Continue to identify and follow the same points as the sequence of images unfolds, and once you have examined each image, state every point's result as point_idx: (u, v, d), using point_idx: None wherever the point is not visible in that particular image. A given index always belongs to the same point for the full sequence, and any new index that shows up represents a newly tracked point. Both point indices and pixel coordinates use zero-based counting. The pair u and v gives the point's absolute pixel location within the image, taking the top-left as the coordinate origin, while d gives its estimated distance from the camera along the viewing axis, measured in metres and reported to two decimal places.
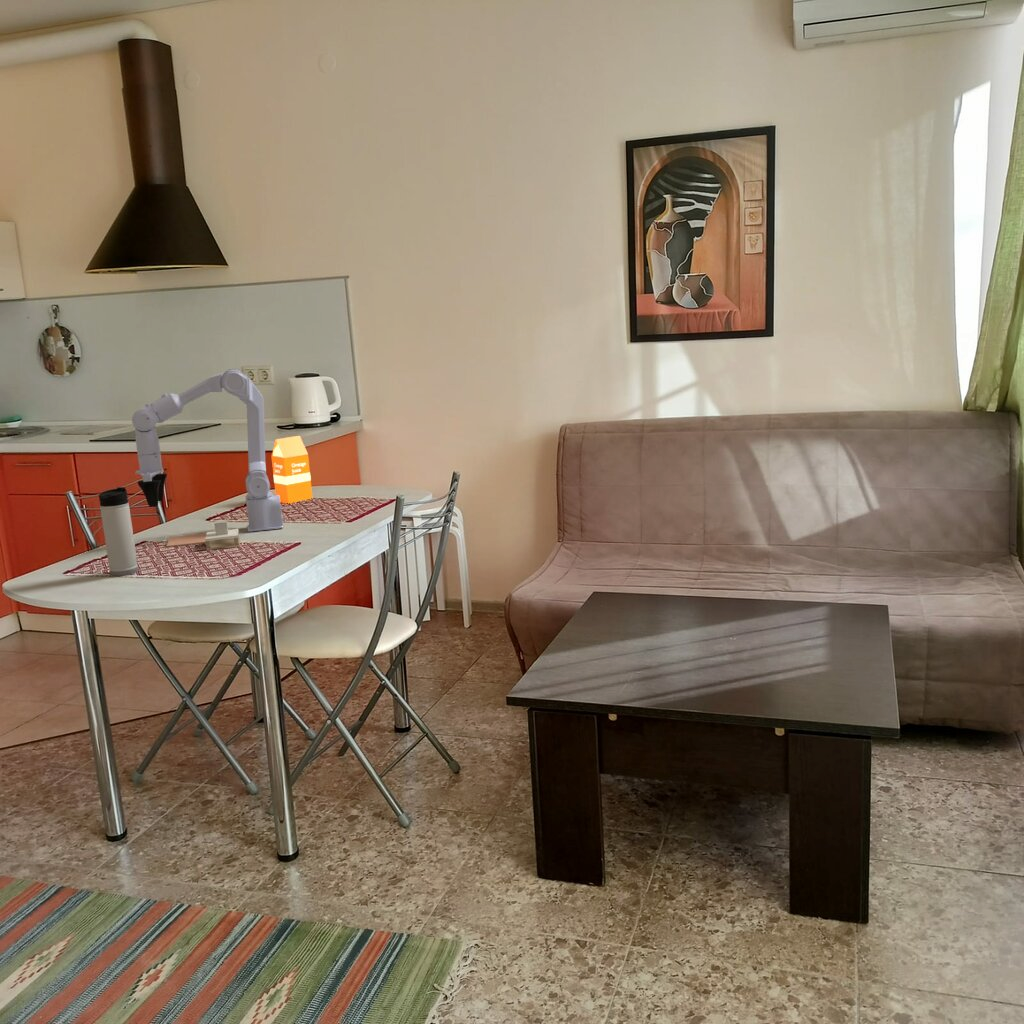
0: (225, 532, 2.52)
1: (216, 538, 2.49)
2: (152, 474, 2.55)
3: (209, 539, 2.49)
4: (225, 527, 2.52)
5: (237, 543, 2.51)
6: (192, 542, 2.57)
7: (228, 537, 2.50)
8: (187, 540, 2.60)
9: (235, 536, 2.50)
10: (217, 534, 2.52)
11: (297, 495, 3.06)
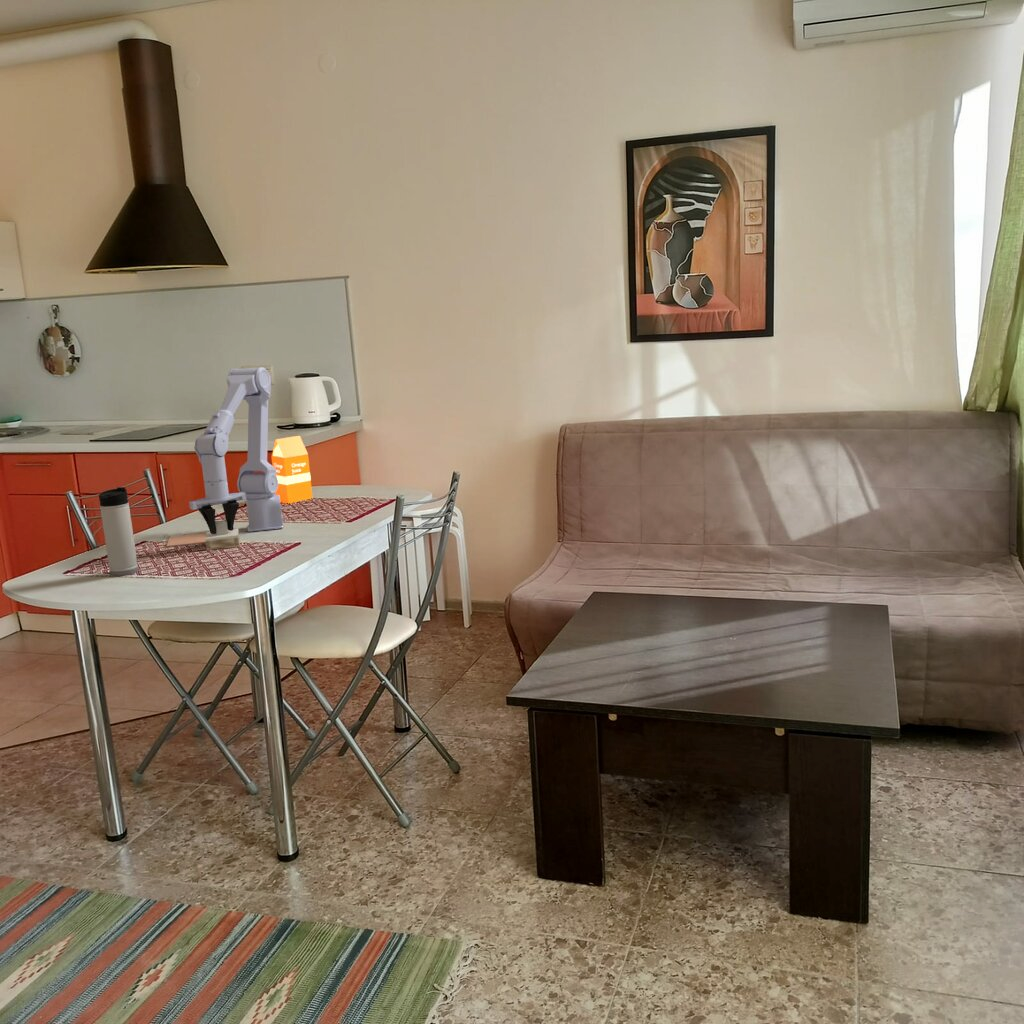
0: (225, 532, 2.52)
1: (216, 538, 2.49)
2: (199, 503, 2.47)
3: (209, 539, 2.49)
4: (225, 527, 2.52)
5: (237, 543, 2.51)
6: (192, 542, 2.57)
7: (228, 537, 2.50)
8: (187, 540, 2.60)
9: (235, 536, 2.50)
10: (217, 534, 2.52)
11: (297, 495, 3.06)
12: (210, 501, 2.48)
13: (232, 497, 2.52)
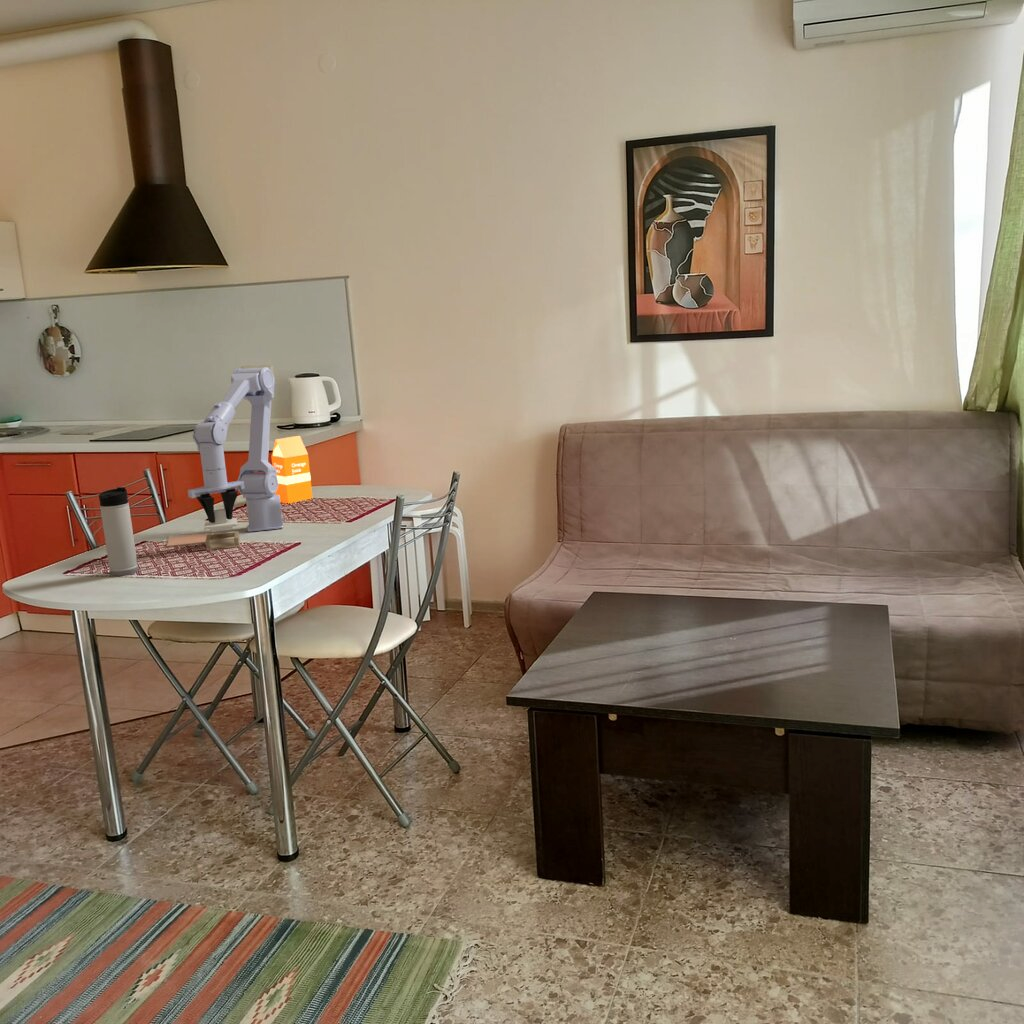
0: (224, 521, 2.51)
1: (215, 527, 2.49)
2: (197, 491, 2.46)
3: (208, 528, 2.48)
4: (224, 516, 2.51)
5: (237, 543, 2.51)
6: (192, 542, 2.57)
7: (227, 526, 2.49)
8: (187, 540, 2.60)
9: (234, 525, 2.50)
10: (216, 523, 2.51)
11: (297, 495, 3.06)
12: (209, 489, 2.47)
13: (231, 486, 2.51)
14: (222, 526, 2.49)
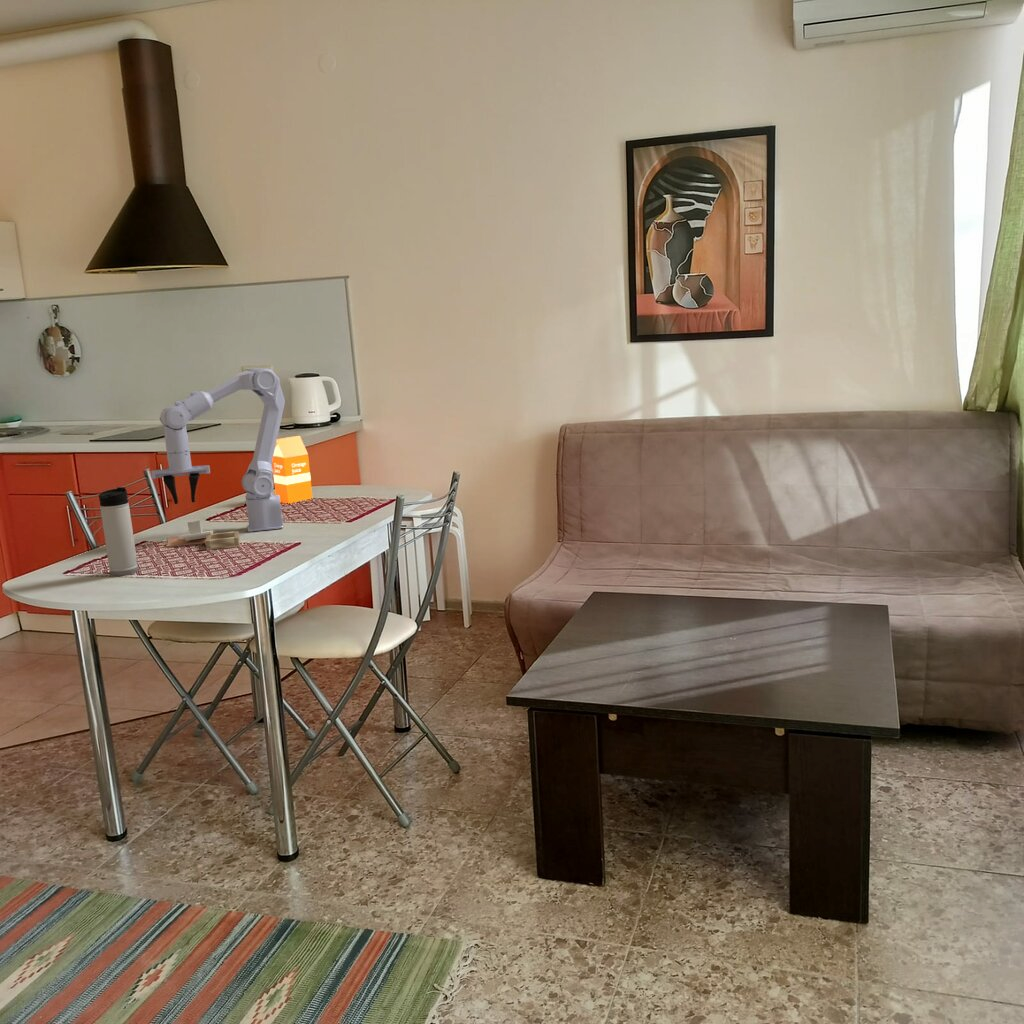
0: (198, 531, 2.57)
1: (189, 535, 2.55)
2: (157, 472, 2.55)
3: (182, 537, 2.54)
4: (198, 525, 2.57)
5: (237, 543, 2.51)
6: (192, 542, 2.57)
7: (201, 534, 2.55)
8: None
9: (208, 533, 2.56)
10: (191, 533, 2.57)
11: (297, 495, 3.06)
12: (167, 472, 2.55)
13: (192, 470, 2.56)
14: (196, 534, 2.55)
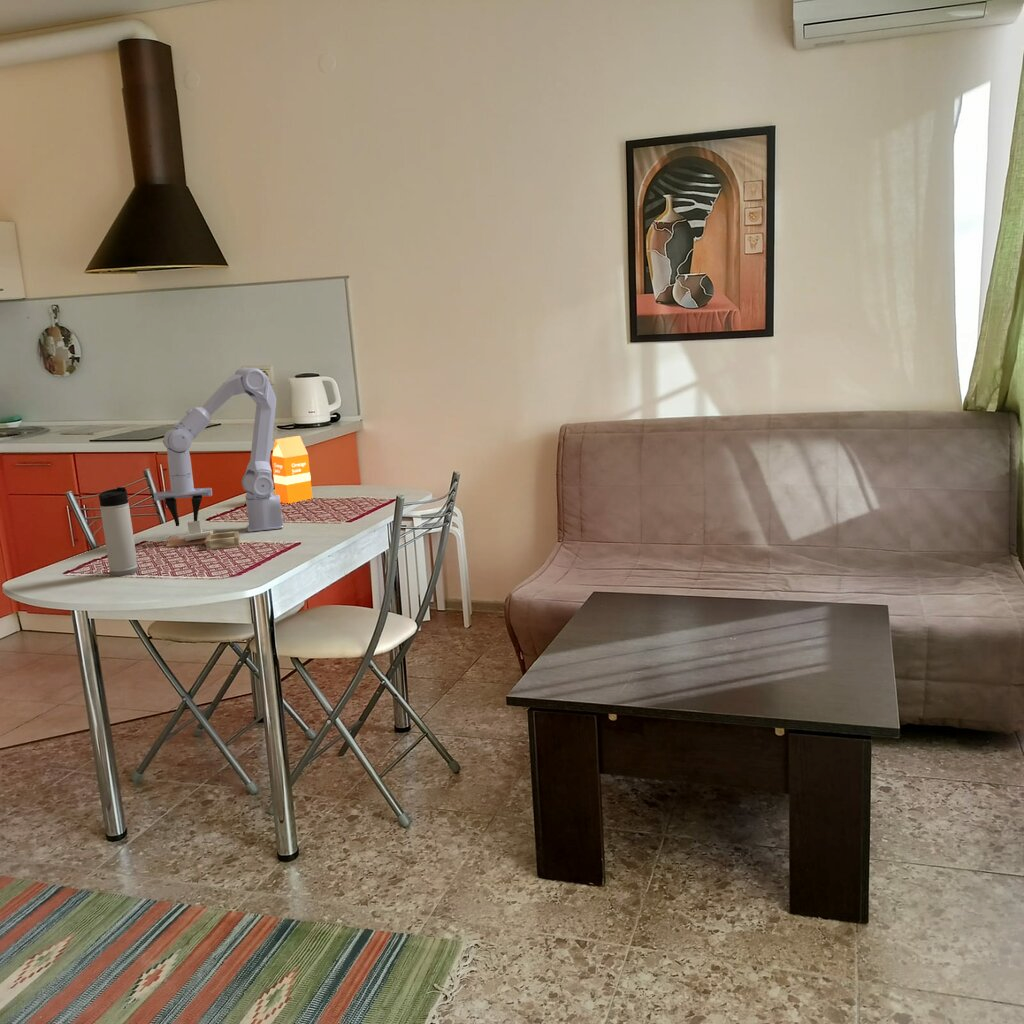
0: (198, 531, 2.57)
1: (189, 536, 2.55)
2: (160, 494, 2.56)
3: (182, 537, 2.54)
4: (198, 525, 2.57)
5: (237, 543, 2.51)
6: (192, 542, 2.57)
7: (201, 534, 2.55)
8: None
9: (207, 533, 2.56)
10: (191, 533, 2.57)
11: (297, 495, 3.06)
12: (170, 494, 2.56)
13: (194, 492, 2.57)
14: (196, 535, 2.55)
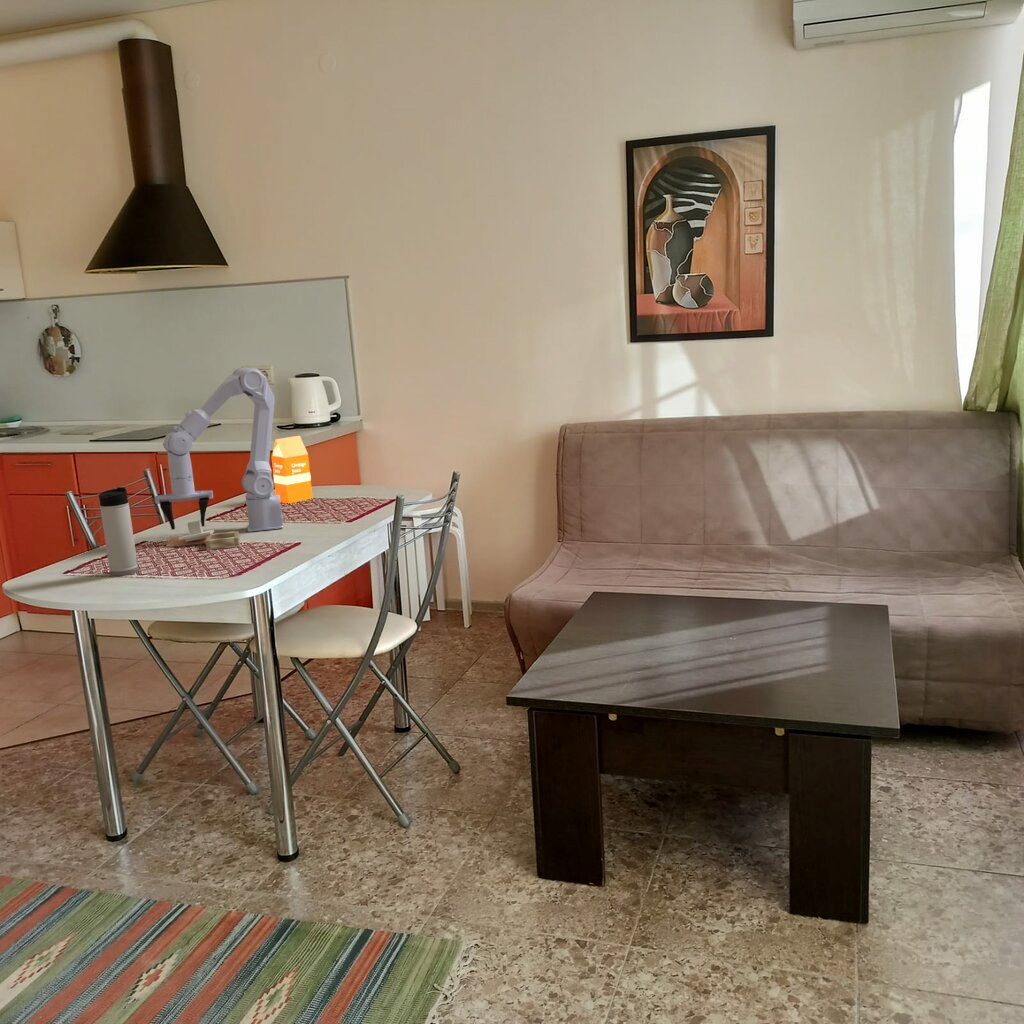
0: (199, 531, 2.57)
1: (189, 536, 2.54)
2: (161, 498, 2.56)
3: (182, 538, 2.54)
4: (198, 526, 2.57)
5: (237, 543, 2.51)
6: (192, 542, 2.57)
7: (201, 534, 2.55)
8: None
9: (207, 533, 2.55)
10: (191, 533, 2.56)
11: (297, 495, 3.06)
12: (171, 497, 2.56)
13: (195, 495, 2.57)
14: (196, 535, 2.54)
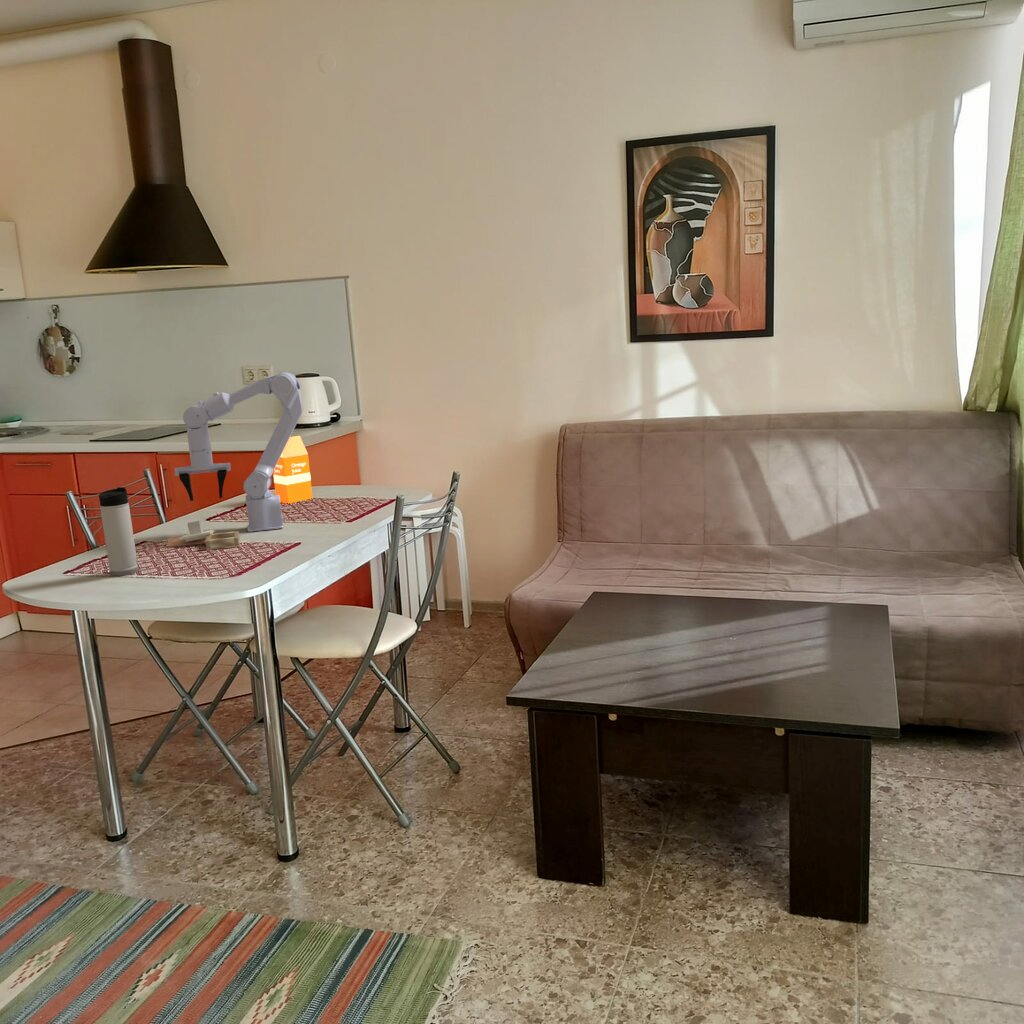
0: (198, 531, 2.57)
1: (189, 536, 2.54)
2: (180, 469, 2.64)
3: (182, 538, 2.54)
4: (198, 526, 2.57)
5: (237, 543, 2.51)
6: (192, 542, 2.57)
7: (201, 534, 2.55)
8: None
9: (207, 533, 2.55)
10: (191, 533, 2.56)
11: (297, 495, 3.06)
12: (190, 469, 2.63)
13: (213, 467, 2.65)
14: (196, 535, 2.54)
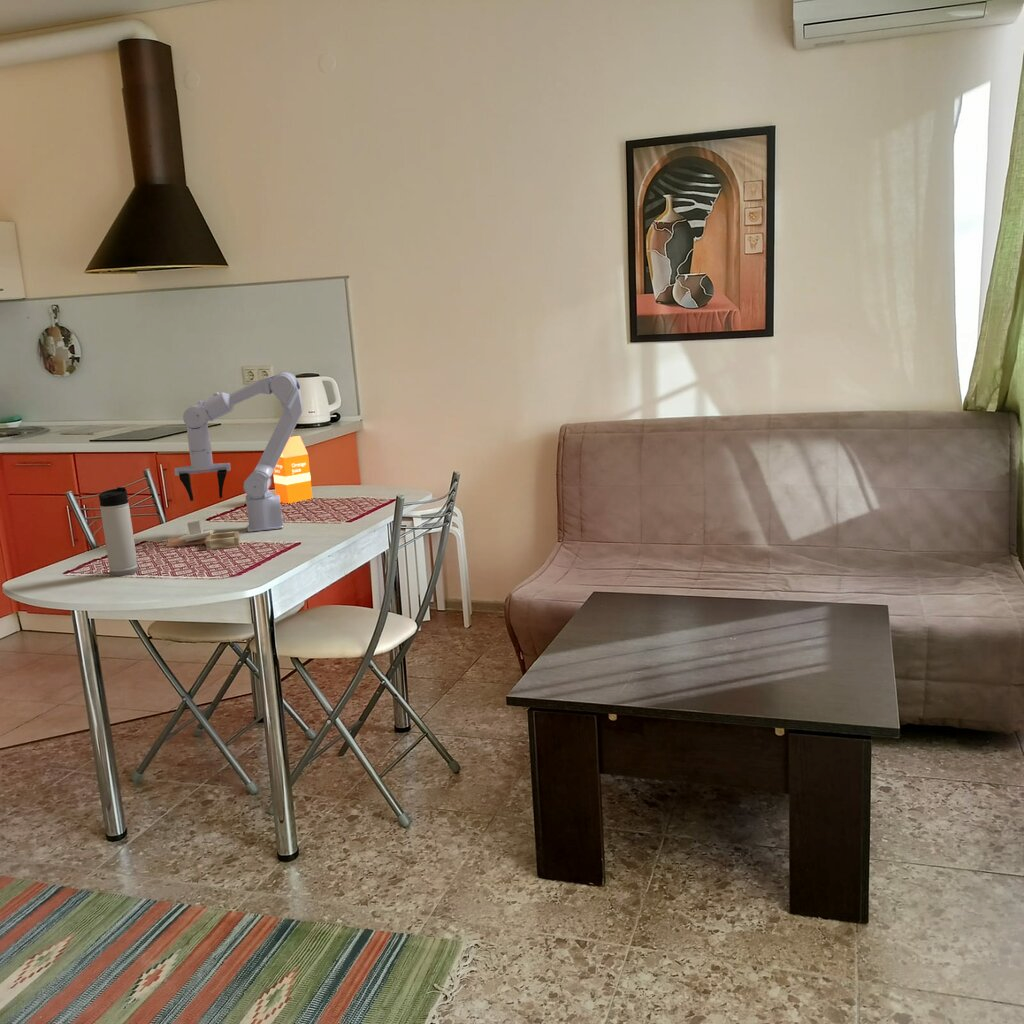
0: (198, 531, 2.57)
1: (189, 536, 2.54)
2: (180, 469, 2.64)
3: (182, 538, 2.54)
4: (198, 526, 2.57)
5: (237, 543, 2.51)
6: (192, 542, 2.57)
7: (201, 534, 2.55)
8: None
9: (207, 533, 2.55)
10: (191, 533, 2.56)
11: (297, 495, 3.06)
12: (190, 469, 2.63)
13: (213, 467, 2.65)
14: (196, 535, 2.54)
